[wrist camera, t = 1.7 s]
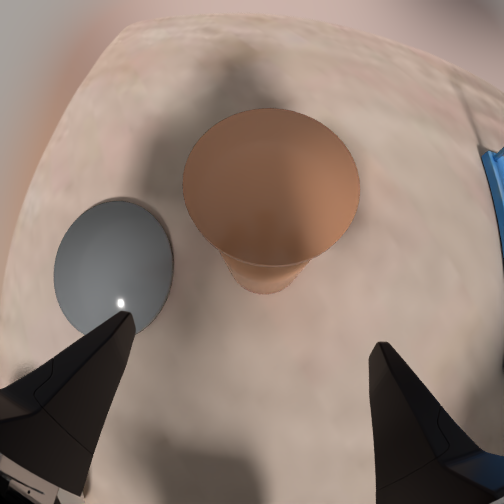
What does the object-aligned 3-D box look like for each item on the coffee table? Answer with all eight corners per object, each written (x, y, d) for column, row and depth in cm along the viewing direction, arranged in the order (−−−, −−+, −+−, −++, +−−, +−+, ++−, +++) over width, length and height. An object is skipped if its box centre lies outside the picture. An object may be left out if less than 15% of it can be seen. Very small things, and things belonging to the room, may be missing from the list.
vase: (278, 313, 21) (308, 302, 9) (208, 270, 22) (148, 204, 9) (318, 245, 22) (382, 157, 10) (251, 206, 23) (245, 89, 11)
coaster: (125, 369, 20) (122, 370, 20) (40, 287, 22) (36, 286, 21) (202, 246, 22) (200, 244, 22) (103, 183, 24) (101, 180, 24)
